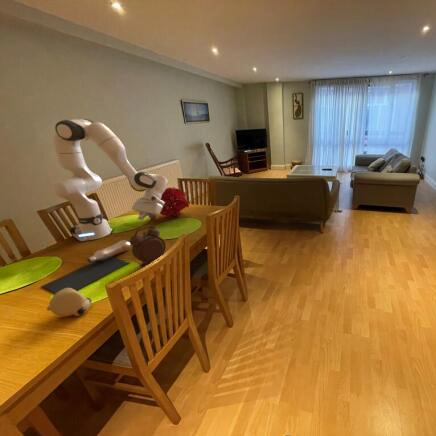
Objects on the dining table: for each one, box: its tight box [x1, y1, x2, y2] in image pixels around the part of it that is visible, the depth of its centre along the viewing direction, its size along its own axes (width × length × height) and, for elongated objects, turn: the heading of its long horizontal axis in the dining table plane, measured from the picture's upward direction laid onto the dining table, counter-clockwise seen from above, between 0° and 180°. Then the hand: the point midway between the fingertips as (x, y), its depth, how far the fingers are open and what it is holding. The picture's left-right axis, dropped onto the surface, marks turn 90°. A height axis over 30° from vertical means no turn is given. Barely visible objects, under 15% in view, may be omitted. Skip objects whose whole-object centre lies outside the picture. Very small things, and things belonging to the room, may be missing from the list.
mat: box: [41, 257, 129, 295], centre depth 116 cm, size 18×28×1 cm, turn 156°
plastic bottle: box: [86, 239, 132, 264], centre depth 129 cm, size 6×7×20 cm
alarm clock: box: [129, 225, 166, 266], centre depth 122 cm, size 15×7×20 cm, turn 150°
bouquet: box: [147, 186, 190, 220], centre depth 180 cm, size 22×24×30 cm
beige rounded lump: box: [46, 288, 93, 319], centre depth 91 cm, size 10×12×11 cm
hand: (140, 219), depth 142 cm, fingers closed
